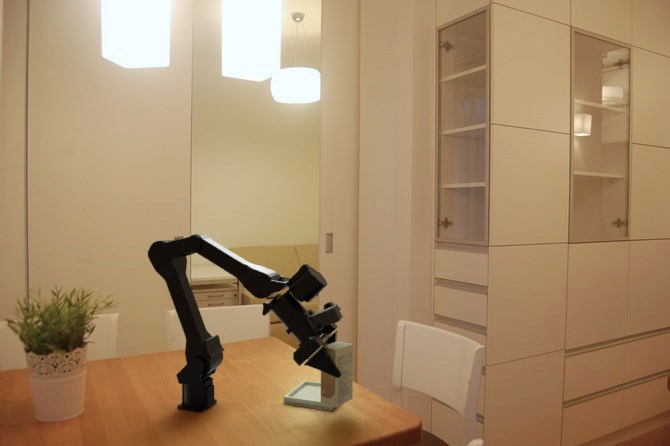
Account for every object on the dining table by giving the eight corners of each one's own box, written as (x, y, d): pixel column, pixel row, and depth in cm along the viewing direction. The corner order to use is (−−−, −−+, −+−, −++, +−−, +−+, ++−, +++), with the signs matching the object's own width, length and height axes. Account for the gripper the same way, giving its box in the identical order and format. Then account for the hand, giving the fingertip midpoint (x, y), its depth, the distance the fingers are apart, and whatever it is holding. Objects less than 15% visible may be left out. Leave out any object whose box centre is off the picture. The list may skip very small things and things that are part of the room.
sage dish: (283, 403, 108) (283, 396, 108) (304, 386, 119) (304, 380, 119) (331, 410, 104) (331, 403, 104) (349, 392, 115) (349, 386, 115)
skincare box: (337, 395, 104) (338, 340, 104) (353, 399, 101) (354, 343, 101) (318, 403, 99) (320, 345, 99) (334, 408, 96) (335, 349, 96)
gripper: (309, 298, 92) (364, 358, 89) (329, 286, 110) (375, 335, 108) (271, 335, 93) (323, 395, 91) (296, 317, 111) (341, 366, 109)
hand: (343, 370), depth 100 cm, fingers closed on skincare box, 7 cm apart
